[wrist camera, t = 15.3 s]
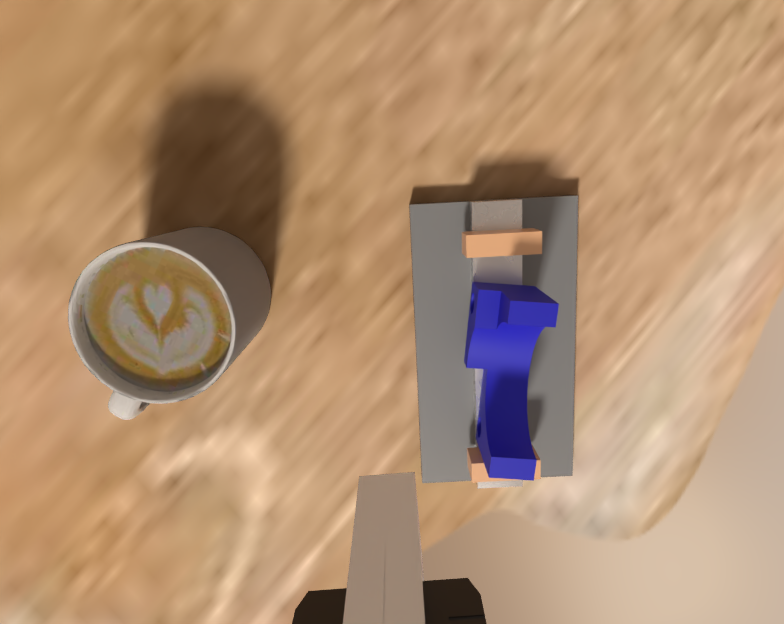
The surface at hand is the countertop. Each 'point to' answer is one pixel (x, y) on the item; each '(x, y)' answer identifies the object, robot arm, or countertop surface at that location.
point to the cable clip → (505, 370)
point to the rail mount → (450, 322)
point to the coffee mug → (167, 315)
